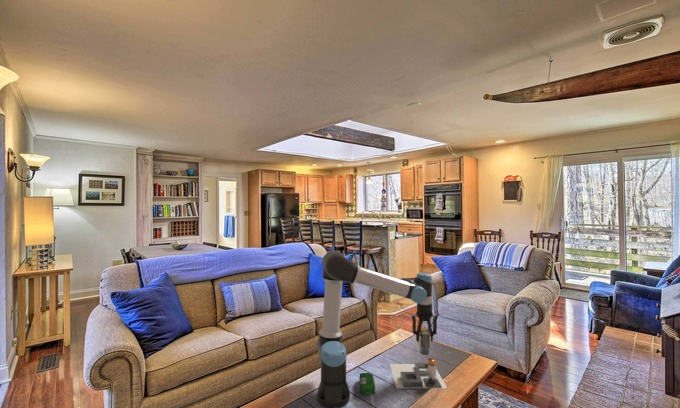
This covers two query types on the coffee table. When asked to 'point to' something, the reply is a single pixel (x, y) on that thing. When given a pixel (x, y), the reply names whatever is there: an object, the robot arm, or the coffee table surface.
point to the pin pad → (431, 384)
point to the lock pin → (432, 371)
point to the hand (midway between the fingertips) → (424, 347)
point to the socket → (421, 365)
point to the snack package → (367, 383)
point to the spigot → (424, 341)
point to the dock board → (410, 368)
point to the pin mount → (411, 383)
